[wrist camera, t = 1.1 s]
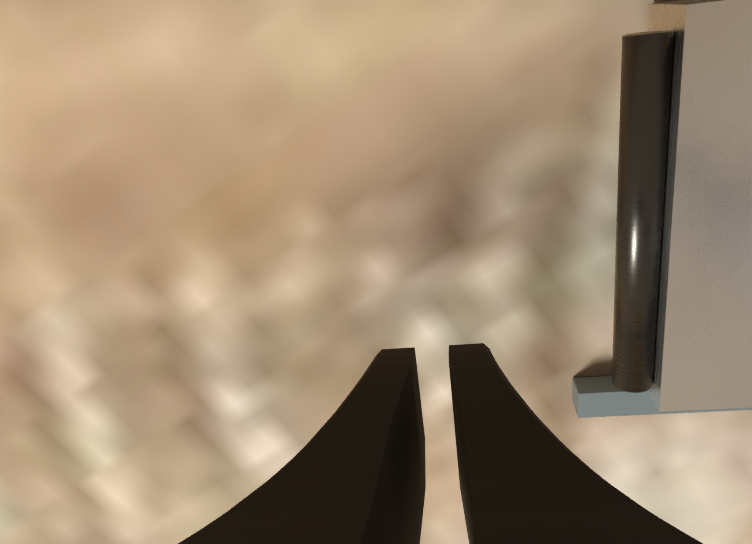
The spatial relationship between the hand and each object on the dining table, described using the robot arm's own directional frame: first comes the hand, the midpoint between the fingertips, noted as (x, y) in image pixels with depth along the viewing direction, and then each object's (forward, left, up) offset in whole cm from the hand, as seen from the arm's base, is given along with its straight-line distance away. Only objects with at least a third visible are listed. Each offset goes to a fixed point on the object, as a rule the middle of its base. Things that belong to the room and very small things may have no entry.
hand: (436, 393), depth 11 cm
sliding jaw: (-5, -5, -10) cm, 12 cm away
